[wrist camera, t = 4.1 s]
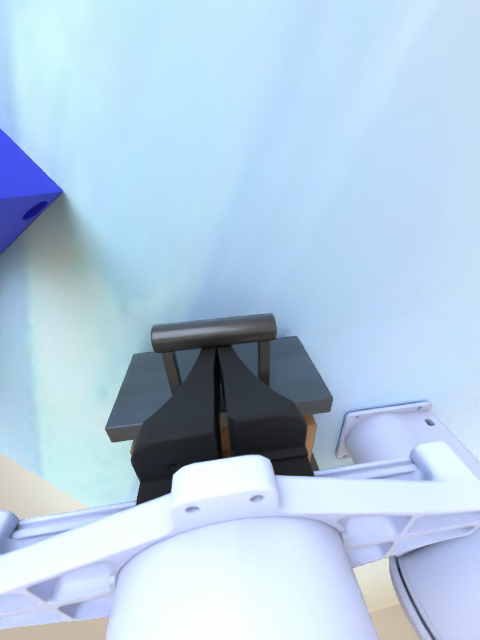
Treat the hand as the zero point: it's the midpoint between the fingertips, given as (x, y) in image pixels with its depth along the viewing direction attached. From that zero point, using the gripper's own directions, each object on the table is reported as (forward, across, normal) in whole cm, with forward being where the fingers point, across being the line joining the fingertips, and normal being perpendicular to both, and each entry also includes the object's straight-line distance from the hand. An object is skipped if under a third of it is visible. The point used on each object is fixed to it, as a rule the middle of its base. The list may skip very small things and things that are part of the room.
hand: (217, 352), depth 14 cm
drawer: (+4, 0, +6) cm, 7 cm away
